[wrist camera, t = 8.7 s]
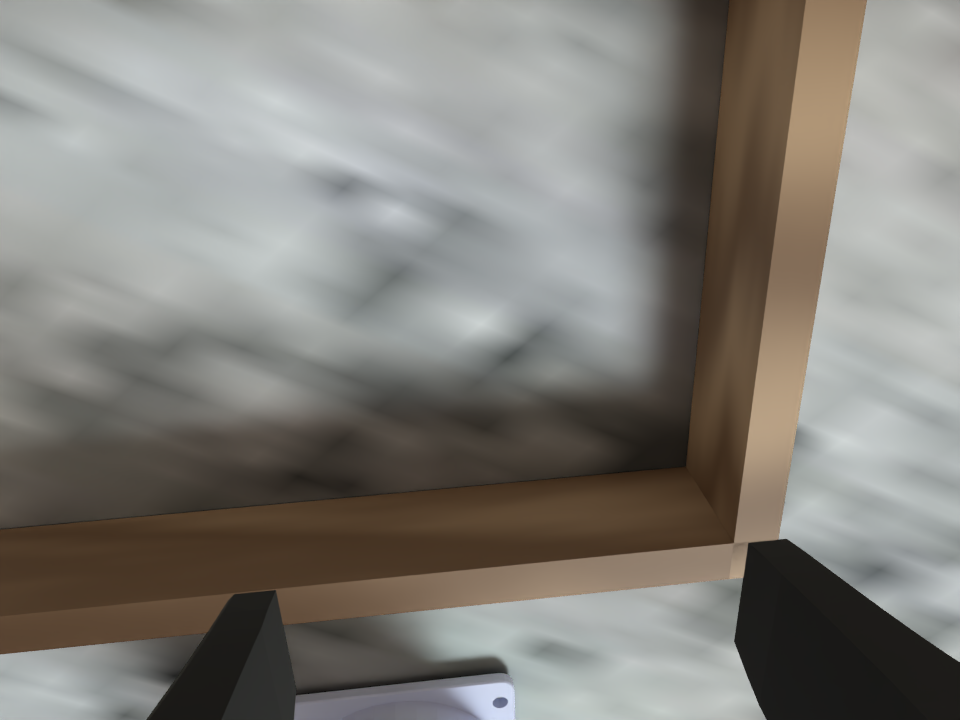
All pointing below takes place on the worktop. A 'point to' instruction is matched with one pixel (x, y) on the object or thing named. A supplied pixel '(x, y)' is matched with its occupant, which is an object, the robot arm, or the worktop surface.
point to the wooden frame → (542, 503)
